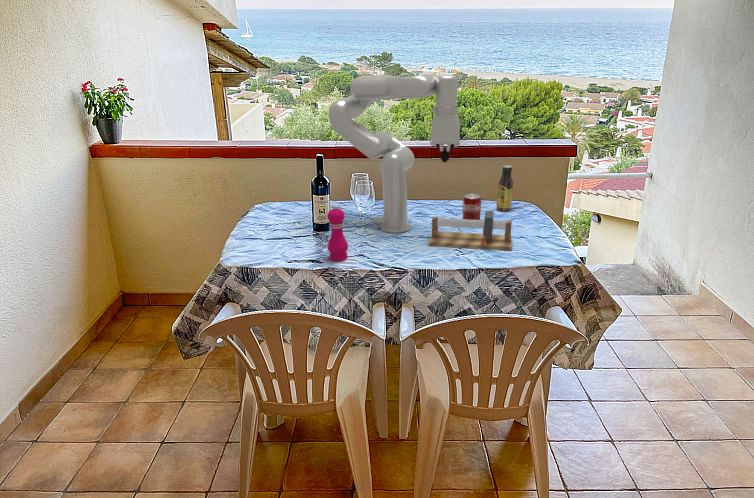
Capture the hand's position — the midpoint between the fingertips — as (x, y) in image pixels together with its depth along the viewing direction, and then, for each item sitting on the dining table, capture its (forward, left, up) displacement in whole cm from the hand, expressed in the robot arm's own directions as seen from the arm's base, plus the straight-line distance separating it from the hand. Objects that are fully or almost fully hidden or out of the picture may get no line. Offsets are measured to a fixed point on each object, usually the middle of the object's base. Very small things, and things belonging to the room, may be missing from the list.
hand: (444, 161), depth 194 cm
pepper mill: (-34, -30, -29) cm, 54 cm away
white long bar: (+11, -7, -23) cm, 26 cm away
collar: (+17, -7, -26) cm, 32 cm away
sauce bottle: (+23, +35, -29) cm, 51 cm away
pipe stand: (+11, -7, -29) cm, 32 cm away
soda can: (+10, +14, -29) cm, 34 cm away
